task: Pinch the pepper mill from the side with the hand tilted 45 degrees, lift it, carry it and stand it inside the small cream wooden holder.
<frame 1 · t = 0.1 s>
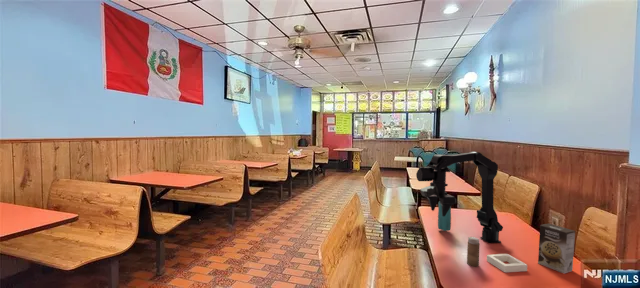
hand: (438, 213, 129), 15 cm above the table, tool pointing down, fingers open, 9 cm apart
beverage bottle: (443, 231, 146), on the table
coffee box: (554, 267, 108), on the table
holder: (506, 265, 109), on the table
pepper mill: (472, 264, 110), on the table
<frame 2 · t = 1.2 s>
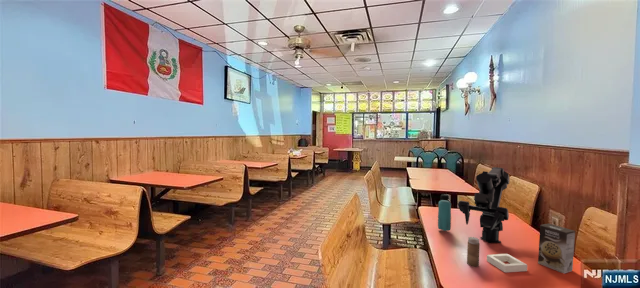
hand: (478, 226, 115), 13 cm above the table, tool tilted 45°, fingers open, 9 cm apart
nothing on the table moved.
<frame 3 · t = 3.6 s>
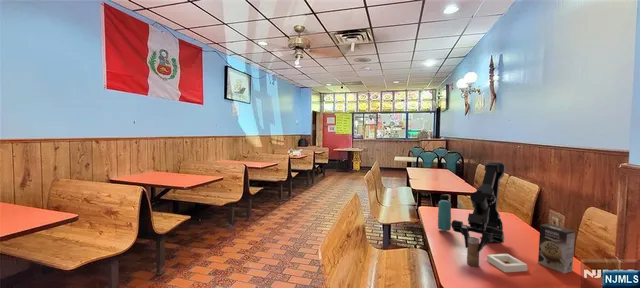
hand: (472, 249, 108), 7 cm above the table, tool tilted 45°, fingers closed on pepper mill, 4 cm apart
pepper mill: (472, 264, 110), on the table, touching gripper
everything else where it was.
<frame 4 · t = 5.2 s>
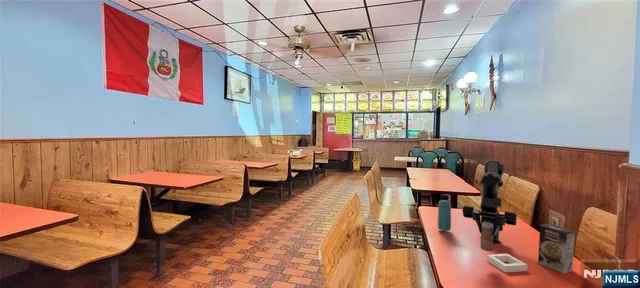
hand: (487, 233, 107), 13 cm above the table, tool tilted 45°, fingers closed on pepper mill, 4 cm apart
pepper mill: (486, 248, 109), point 7 cm above the table, touching gripper
everything else where it was.
when the fingers open (9 cm above the table, at t = 7.0 s): pepper mill drops 2 cm, resting in holder.
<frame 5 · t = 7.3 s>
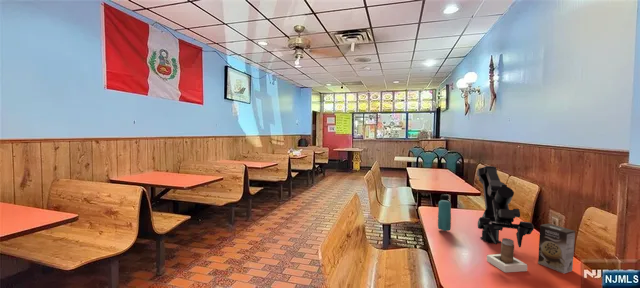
hand: (507, 245, 107), 9 cm above the table, tool tilted 45°, fingers open, 8 cm apart
pepper mill: (506, 265, 109), resting in holder
everything else where it was.
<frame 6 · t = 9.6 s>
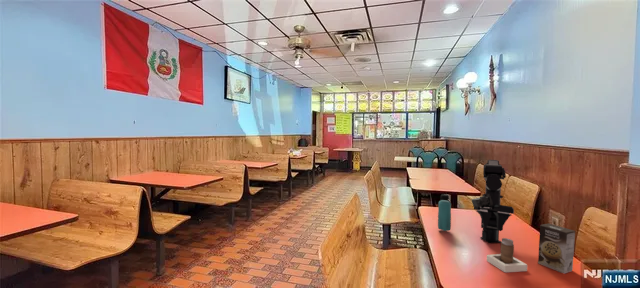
hand: (491, 228, 117), 12 cm above the table, tool tilted 15°, fingers open, 9 cm apart
nothing on the table moved.
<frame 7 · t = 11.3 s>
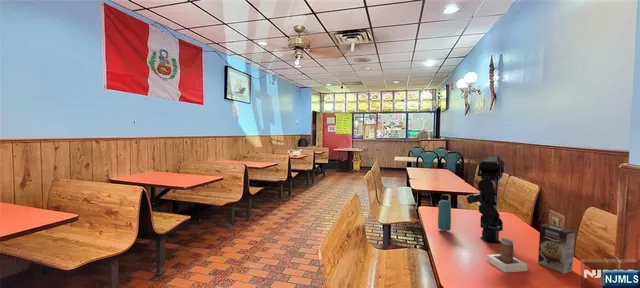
hand: (487, 223, 120), 13 cm above the table, tool pointing down, fingers open, 9 cm apart
nothing on the table moved.
at the end: pepper mill 0.1 cm from the holder (horizontally); pepper mill tilted 1°; pepper mill resting in holder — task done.
